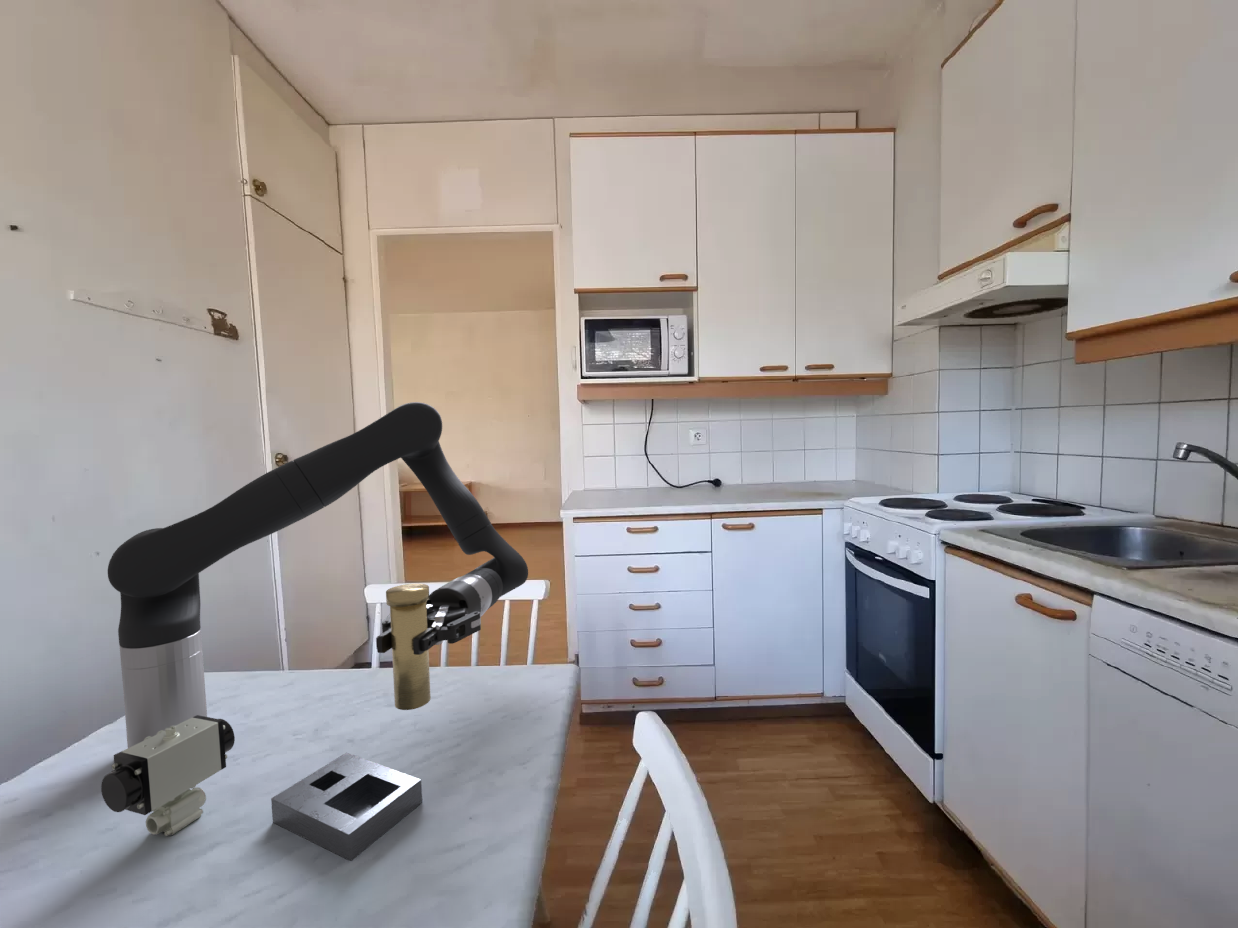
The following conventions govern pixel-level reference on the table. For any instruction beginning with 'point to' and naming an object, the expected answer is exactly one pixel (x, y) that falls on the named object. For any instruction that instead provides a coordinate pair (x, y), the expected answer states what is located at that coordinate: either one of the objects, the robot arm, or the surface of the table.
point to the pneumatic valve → (169, 773)
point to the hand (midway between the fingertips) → (398, 646)
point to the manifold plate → (347, 804)
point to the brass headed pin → (409, 645)
